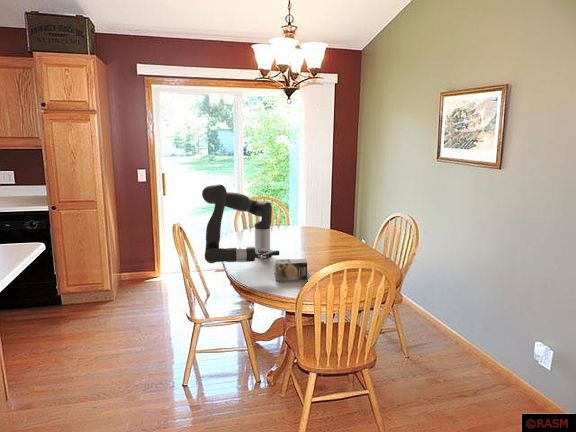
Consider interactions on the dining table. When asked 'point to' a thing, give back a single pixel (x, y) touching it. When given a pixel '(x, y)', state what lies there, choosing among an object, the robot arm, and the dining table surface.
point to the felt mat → (294, 280)
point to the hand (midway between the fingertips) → (279, 252)
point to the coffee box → (291, 269)
